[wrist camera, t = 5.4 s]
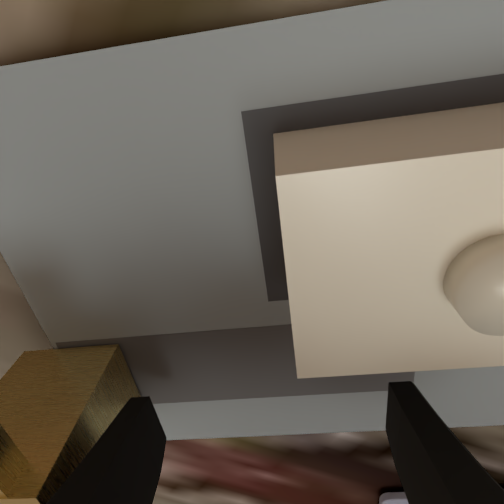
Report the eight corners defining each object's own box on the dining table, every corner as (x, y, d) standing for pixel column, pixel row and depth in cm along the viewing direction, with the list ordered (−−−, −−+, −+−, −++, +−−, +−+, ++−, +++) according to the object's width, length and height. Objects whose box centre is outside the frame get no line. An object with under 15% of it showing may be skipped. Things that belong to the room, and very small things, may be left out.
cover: (537, 261, 10) (700, 381, 6) (289, 283, 10) (299, 402, 7) (586, 91, 8) (876, 116, 4) (273, 133, 8) (276, 188, 5)
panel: (586, 386, 14) (620, 420, 13) (118, 411, 16) (104, 443, 15) (790, -61, 8) (904, -89, 6) (-43, 79, 10) (-94, 82, 8)
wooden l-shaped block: (143, 402, 13) (84, 559, 9) (58, 407, 14) (-36, 561, 9) (88, 273, 11) (-33, 412, 6) (-17, 283, 11) (-197, 422, 7)
